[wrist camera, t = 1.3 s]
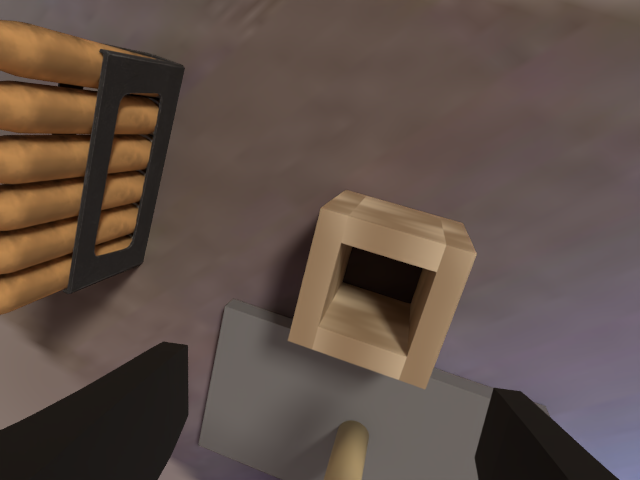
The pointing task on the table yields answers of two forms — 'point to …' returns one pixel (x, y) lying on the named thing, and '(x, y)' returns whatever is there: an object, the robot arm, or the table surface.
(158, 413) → the robot arm
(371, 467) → the grey peg stand
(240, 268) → the table surface
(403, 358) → the bead
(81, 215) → the ammunition clip
